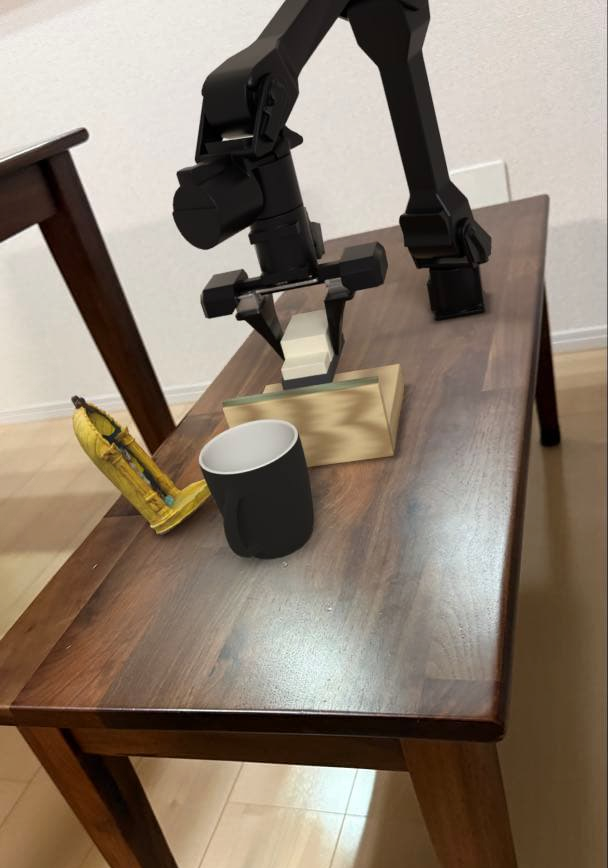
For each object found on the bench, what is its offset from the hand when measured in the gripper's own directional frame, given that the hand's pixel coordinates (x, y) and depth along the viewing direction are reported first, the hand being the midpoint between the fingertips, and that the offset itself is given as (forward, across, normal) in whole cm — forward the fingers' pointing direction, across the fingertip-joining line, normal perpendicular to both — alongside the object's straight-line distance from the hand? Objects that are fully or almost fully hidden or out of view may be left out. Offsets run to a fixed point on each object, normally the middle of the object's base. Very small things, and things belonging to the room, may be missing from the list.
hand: (313, 357), depth 90 cm
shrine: (+8, +14, +17) cm, 24 cm away
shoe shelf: (+8, 0, +1) cm, 8 cm away
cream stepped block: (+1, 0, 0) cm, 1 cm away
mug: (+8, +2, +23) cm, 25 cm away
